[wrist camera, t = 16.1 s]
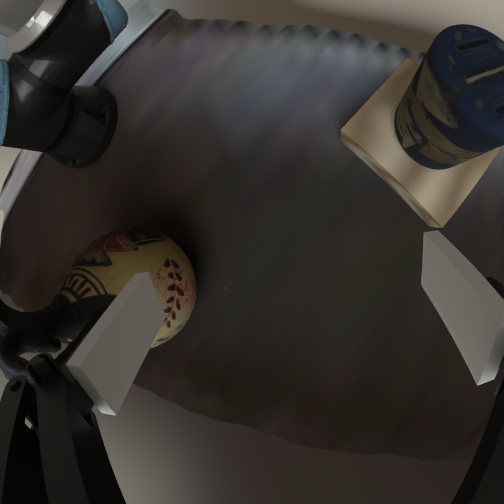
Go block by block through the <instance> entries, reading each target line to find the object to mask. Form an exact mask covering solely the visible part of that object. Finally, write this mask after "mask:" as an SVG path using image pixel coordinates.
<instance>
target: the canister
mask: <svg viewBox="0 0 504 504" xmlns="http://www.w3.org/2000/svg"><path fill="white" fill-rule="evenodd" d="M394 126H395V132H396V136H397V139H398V141H399V143H400V145H401V147H402V148H403V150H404V151H405V152H406V153H407V155H408V156H409V157H410V158H412V159H413V160H414V161H415V162H417V163H418V164H420V165H422V166H424V167H427V168H430V169H435V170H444V169H448V168H451V167H454V166H456V165H458V164H461V163H464V162H466V161H468V160H470V159H473V158H475V157H477V156H480V155H482V154H484V153H486V152H488V151H491V150H493V149H495V148H498V147H500V146H502V145H504V41H502V40H501V39H500V38H498V37H497V36H496V35H494V34H493V33H491V32H489V31H487V30H485V29H483V28H480V27H477V26H473V25H465V24H462V25H453V26H450V27H448V28H446V29H444V30H443V31H442V32H440V33H439V34H438V36H437V37H436V38H435V40H434V41H433V43H432V45H431V46H430V48H429V50H428V52H427V53H426V55H425V57H424V59H423V61H422V63H421V65H420V66H419V68H418V69H417V71H416V73H415V75H414V76H413V78H412V80H411V82H410V84H409V86H408V88H407V90H406V92H405V94H404V96H403V97H402V99H401V101H400V103H399V105H398V107H397V109H396V112H395V118H394Z"/></svg>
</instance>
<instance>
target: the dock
mask: <svg viewBox="0 0 504 504" xmlns="http://www.w3.org/2000/svg"><path fill="white" fill-rule="evenodd" d="M418 68H419V65H418V64H417V63H416V62H414V61H413V60H412V59H410V58H409V59H408V58H407V59H406V60H405V61H404V62H403V63H402V64H401V65H400V66H399V67H398V68H397V69H396V70H395V72H394V73H393V74H392V75H391V76H390V77H389V78H388V79H387V80H386V81H385V82H384V83H383V84H382V85H381V87H380V88H379V89H378V90H377V91H376V92H375V93H374V94H373V95H372V96H371V97H370V98H369V100H368V101H367V102H366V103H365V104H364V105H363V106H362V107H361V108H360V109H359V110H358V111H357V113H356V114H355V115H354V116H353V117H352V118H351V119H350V120H349V121H348V122H347V123H346V125H345V126H344V127H343V128H342V129H341V134H340V141H341V142H342V143H343V144H344V145H346V146H347V147H348V148H349V149H350V150H351V151H353V152H354V153H355V154H356V155H357V156H358V157H359V158H360V159H362V160H363V161H364V162H365V163H366V164H367V165H368V166H369V167H370V168H371V169H373V170H374V171H375V172H376V173H377V174H378V175H379V176H380V177H381V178H382V179H383V180H384V181H385V182H386V183H387V184H388V185H389V186H391V187H392V188H393V189H394V190H395V191H396V192H397V193H398V194H399V195H400V196H401V197H402V198H403V199H404V200H405V201H406V202H407V203H408V204H409V206H410V207H411V208H412V209H413V210H414V211H415V212H416V213H417V214H418V215H419V216H420V217H421V218H422V219H423V220H424V221H425V222H426V224H427V225H428V226H429V227H440V228H443V226H444V225H445V224H446V223H447V221H448V220H449V219H450V218H451V216H452V215H453V214H454V213H455V211H456V210H457V209H458V207H459V206H460V205H461V204H462V202H463V201H464V200H465V198H466V197H467V196H468V194H469V193H470V191H471V190H472V189H473V187H474V186H475V185H476V183H477V182H478V180H479V179H480V178H481V176H482V175H483V173H484V172H485V170H486V169H487V168H488V166H489V165H490V163H491V162H492V160H493V159H494V157H495V156H496V154H497V152H498V151H499V149H500V148H501V147H498V148H495V149H493V150H491V151H488V152H486V153H484V154H482V155H480V156H477V157H475V158H473V159H470V160H468V161H466V162H464V163H461V164H458V165H456V166H454V167H451V168H448V169H444V170H435V169H430V168H427V167H424V166H422V165H420V164H418V163H417V162H415V161H414V160H413V159H412V158H410V157H409V156H408V155H407V153H406V152H405V151H404V150H403V148H402V147H401V145H400V143H399V141H398V139H397V136H396V132H395V126H394V118H395V112H396V109H397V107H398V105H399V103H400V101H401V99H402V97H403V96H404V94H405V92H406V90H407V88H408V86H409V84H410V82H411V80H412V78H413V76H414V75H415V73H416V71H417V69H418Z"/></svg>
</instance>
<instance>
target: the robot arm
mask: <svg viewBox="0 0 504 504" xmlns="http://www.w3.org/2000/svg"><path fill="white" fill-rule="evenodd" d="M127 23H128V15H127V13H126V11H125V10H124V8H123V7H122V6H121V4H120V3H119V2H118V1H117V0H0V34H1V35H4V36H6V38H7V46H8V49H9V50H10V51H11V52H13V54H12V55H11V57H10V58H9V60H8V61H7V60H5V59H2V60H0V146H5V147H13V148H20V149H26V150H32V151H39V152H45V153H47V154H48V155H49V156H51V157H52V158H54V159H55V160H57V161H58V162H60V163H61V164H63V165H65V166H67V167H73V168H84V167H87V166H89V165H91V164H92V163H94V162H95V161H96V160H97V159H98V158H99V157H100V156H101V155H102V154H103V152H104V151H105V150H106V148H107V146H108V145H109V143H110V141H111V139H112V136H113V134H114V130H115V127H116V122H117V106H116V102H115V100H114V98H113V96H112V95H111V94H110V93H109V92H108V91H106V90H104V89H102V88H100V87H96V86H74V85H75V84H76V83H77V81H78V80H79V79H80V78H81V76H82V75H83V74H84V73H85V72H86V70H87V69H88V68H89V67H90V66H91V65H92V64H93V62H94V61H95V60H96V59H97V58H98V57H99V56H100V55H101V54H102V53H103V51H104V50H105V49H106V48H107V47H108V46H109V45H111V44H112V43H113V42H114V39H115V38H116V37H117V36H118V35H119V34H120V33H121V32H122V30H123V29H124V28H125V27H126V25H127ZM421 285H422V287H423V288H424V290H425V292H426V293H427V295H428V296H429V298H430V300H431V301H432V303H433V305H434V306H435V308H436V310H437V311H438V313H439V315H440V316H441V318H442V320H443V321H444V323H445V325H446V327H447V328H448V330H449V332H450V334H451V335H452V337H453V339H454V341H455V343H456V345H457V346H458V348H459V350H460V352H461V354H462V356H463V358H464V360H465V362H466V364H467V365H468V367H469V369H470V371H471V373H472V375H473V378H474V380H475V382H476V384H477V385H480V384H482V383H485V382H488V381H491V380H493V379H494V378H495V376H496V374H497V372H498V369H499V367H500V369H501V371H502V373H503V374H504V286H503V285H502V284H501V283H500V282H498V281H497V280H495V279H493V278H491V277H487V278H484V277H483V276H482V275H481V273H480V272H479V271H478V270H477V269H476V268H475V267H474V266H473V265H472V264H471V263H470V262H469V261H468V260H467V259H466V258H465V257H464V256H463V255H462V254H461V253H460V252H459V251H458V249H457V248H455V247H454V246H453V245H452V244H451V243H450V242H449V241H448V240H447V239H446V238H445V237H444V236H443V235H442V234H441V233H440V232H439V231H438V230H437V231H431V232H424V240H423V264H422V279H421ZM165 318H166V315H165V313H164V310H163V308H162V306H161V303H160V301H159V298H158V296H157V293H156V291H155V288H154V286H153V283H152V281H151V278H150V276H149V273H148V272H144V273H136V274H135V275H134V276H133V277H132V278H131V280H130V281H129V282H128V283H127V285H126V286H125V287H124V288H123V289H122V291H121V292H120V293H119V294H118V296H117V297H116V298H115V299H114V301H113V302H112V303H111V305H110V306H109V307H108V308H107V310H106V311H105V312H104V314H103V315H102V316H101V317H100V319H99V320H98V321H97V323H96V324H95V325H94V327H93V328H92V329H91V330H89V331H88V332H87V333H86V334H85V335H84V336H83V338H82V339H81V340H80V343H78V344H77V346H76V347H75V349H74V350H73V351H72V353H71V354H70V355H69V357H68V358H67V360H66V361H65V362H64V364H63V365H62V367H61V368H59V366H58V365H57V363H56V362H55V360H54V359H53V357H52V356H51V354H49V353H47V352H43V353H41V354H38V355H36V356H35V357H33V358H32V359H31V360H30V361H29V362H28V364H27V366H26V371H27V372H28V374H29V375H30V376H31V378H32V379H33V380H34V382H35V383H30V382H29V381H28V380H27V378H26V377H25V376H24V375H17V376H14V377H12V378H11V379H10V380H9V382H8V383H7V385H6V386H5V389H4V392H3V395H2V398H1V401H0V504H126V502H125V500H124V497H123V495H122V492H121V490H120V488H119V485H118V483H117V480H116V477H115V475H114V472H113V469H112V467H111V464H110V461H109V458H108V455H107V452H106V449H105V446H104V443H103V440H102V437H101V434H100V430H99V427H98V423H97V420H96V416H95V414H94V412H93V411H92V410H91V409H92V407H93V405H94V404H95V405H96V406H97V408H98V409H99V410H100V411H101V413H105V414H111V415H117V413H118V411H119V409H120V407H121V404H122V402H123V400H124V398H125V396H126V394H127V392H128V390H129V388H130V386H131V384H132V382H133V380H134V378H135V376H136V374H137V372H138V370H139V368H140V366H141V364H142V362H143V360H144V358H145V356H146V354H147V353H148V351H149V349H150V347H151V345H152V343H153V341H154V339H155V337H156V335H157V333H158V331H159V329H160V328H161V326H162V324H163V322H164V320H165ZM494 395H497V396H496V399H495V402H494V406H493V409H492V412H491V415H490V418H489V421H488V423H487V426H486V429H485V432H484V434H483V437H482V439H481V442H480V444H479V447H478V449H477V452H476V454H475V456H474V458H473V461H472V463H471V465H470V467H469V469H468V471H467V474H466V476H465V478H464V480H463V482H462V484H461V486H460V488H459V490H458V491H457V493H456V495H455V497H454V499H453V500H452V502H451V504H504V375H503V377H502V379H501V382H500V384H499V386H498V388H497V390H496V392H495V394H494ZM25 418H27V420H28V421H29V422H30V423H31V424H32V426H31V429H30V428H28V426H27V425H26V424H25Z"/></svg>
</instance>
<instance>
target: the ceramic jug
mask: <svg viewBox="0 0 504 504" xmlns="http://www.w3.org/2000/svg"><path fill="white" fill-rule="evenodd" d="M144 272H148V273H149V276H150V278H151V281H152V283H153V286H154V288H155V291H156V293H157V296H158V298H159V301H160V303H161V306H162V308H163V310H164V313H165V315H166V318H165V320H164V322H163V324H162V326H161V328H160V329H159V331H158V333H157V335H156V337H155V339H154V341H153V343H152V345H151V347H150V349H151V348H153V347H156V346H158V345H160V344H162V343H164V342H166V341H167V340H169V339H171V338H172V337H173V336H174V335H176V334H177V333H178V332H179V331H180V330H181V329H182V328H183V327H184V325H185V324H186V323H187V320H188V319H189V317H190V315H191V313H192V311H193V309H194V305H195V302H196V286H197V285H196V279H195V273H194V269H193V266H192V264H191V262H190V261H189V259H188V257H187V256H186V254H185V253H184V252H183V251H182V249H181V248H180V247H179V246H178V245H177V244H176V243H175V242H174V241H173V240H172V239H171V238H169V237H168V236H166V235H165V234H163V233H161V232H159V231H157V230H154V229H150V228H146V227H137V226H131V227H125V228H121V229H117V230H114V231H112V232H109V233H107V234H105V235H103V236H101V237H100V238H98V239H96V240H95V241H93V242H92V243H91V244H90V245H88V246H87V247H86V248H85V249H84V250H83V251H82V252H81V253H80V255H79V256H78V257H77V258H76V259H75V261H74V262H73V264H72V266H71V267H70V269H69V270H68V272H67V273H66V275H65V277H64V279H63V280H62V282H61V284H60V286H59V289H58V291H57V294H56V295H55V297H54V298H53V300H52V303H51V304H50V305H49V306H47V307H45V308H44V309H43V310H41V311H36V312H20V311H17V310H14V309H12V308H10V307H9V306H7V305H6V304H5V303H4V302H3V301H2V300H1V299H0V368H1V369H2V371H3V373H4V375H5V377H6V378H7V379H9V380H10V379H11V378H12V377H14V376H17V375H24V376H25V377H26V378H27V380H28V381H29V382H30V383H35V382H34V380H33V379H32V378H31V376H30V375H29V374H28V372H27V371H26V366H27V364H28V362H29V361H27V360H26V359H24V358H22V357H19V356H20V355H21V354H23V353H25V352H32V353H37V352H53V353H55V352H57V351H59V350H60V349H61V342H60V340H70V341H72V342H71V343H70V344H69V345H68V346H67V348H66V349H65V350H64V351H63V352H62V353H61V354H59V355H58V357H57V358H56V359H54V360H55V362H56V363H57V365H58V366H59V368H61V367H62V365H63V364H64V362H65V361H66V360H67V358H68V357H69V355H70V354H71V353H72V351H73V350H74V349H75V347H76V346H77V344H78V343H80V340H81V339H82V338H83V336H84V335H85V334H86V333H87V332H88V331H89V330H91V329H92V328H93V327H94V325H95V324H96V323H97V321H98V320H99V319H100V317H101V316H102V315H103V314H104V312H105V311H106V310H107V308H108V307H109V306H110V305H111V303H112V302H113V301H114V299H115V298H116V297H117V296H118V294H119V293H120V292H121V291H122V289H123V288H124V287H125V286H126V285H127V283H128V282H129V281H130V280H131V278H132V277H133V276H134V275H135V274H136V273H144Z"/></svg>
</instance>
